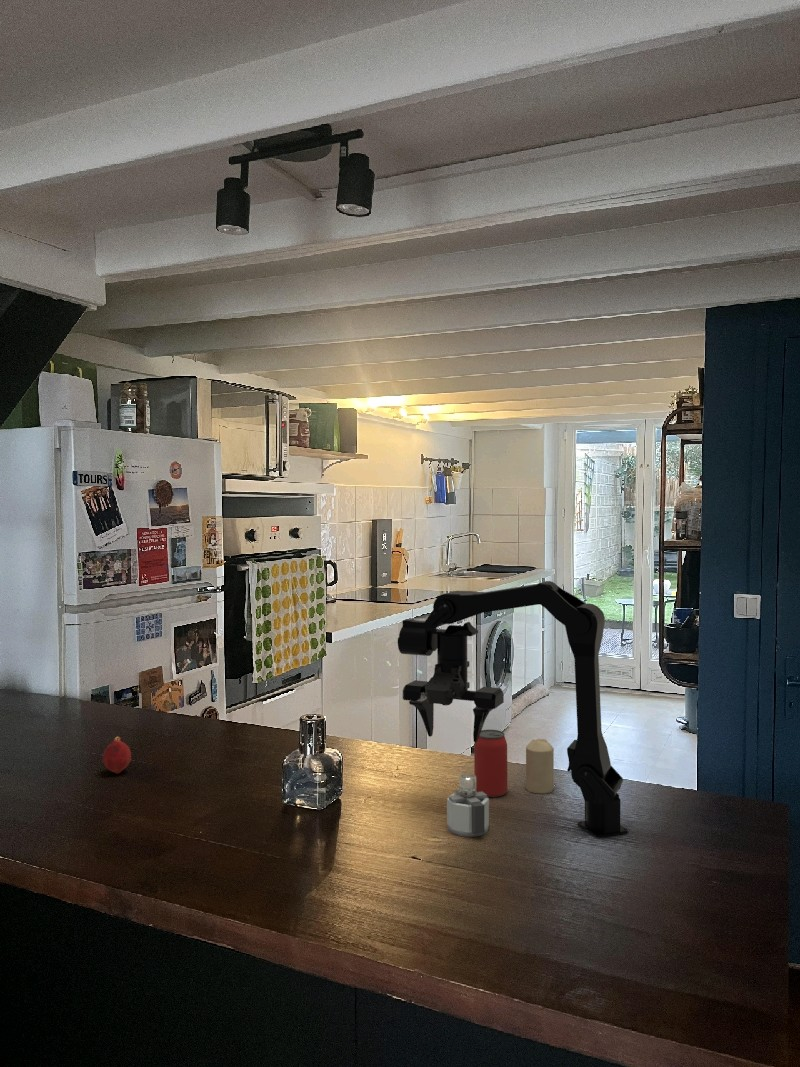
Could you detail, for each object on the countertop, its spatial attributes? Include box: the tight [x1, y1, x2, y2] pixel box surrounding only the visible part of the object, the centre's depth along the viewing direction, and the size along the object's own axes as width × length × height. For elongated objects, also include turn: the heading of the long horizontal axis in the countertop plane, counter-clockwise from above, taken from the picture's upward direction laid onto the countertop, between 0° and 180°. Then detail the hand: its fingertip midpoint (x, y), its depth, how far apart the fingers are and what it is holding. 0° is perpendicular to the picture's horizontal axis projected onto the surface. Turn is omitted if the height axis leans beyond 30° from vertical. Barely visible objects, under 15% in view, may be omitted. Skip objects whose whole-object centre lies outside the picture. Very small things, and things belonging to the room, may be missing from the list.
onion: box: [102, 736, 132, 775], centre depth 178 cm, size 6×6×8 cm
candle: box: [525, 738, 555, 795], centre depth 166 cm, size 6×6×10 cm
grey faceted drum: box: [446, 789, 490, 838], centre depth 146 cm, size 8×7×6 cm
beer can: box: [473, 729, 508, 798], centre depth 164 cm, size 7×7×12 cm
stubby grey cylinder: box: [458, 773, 476, 805], centre depth 146 cm, size 5×5×8 cm
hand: (452, 738), depth 157 cm, fingers open, 9 cm apart
